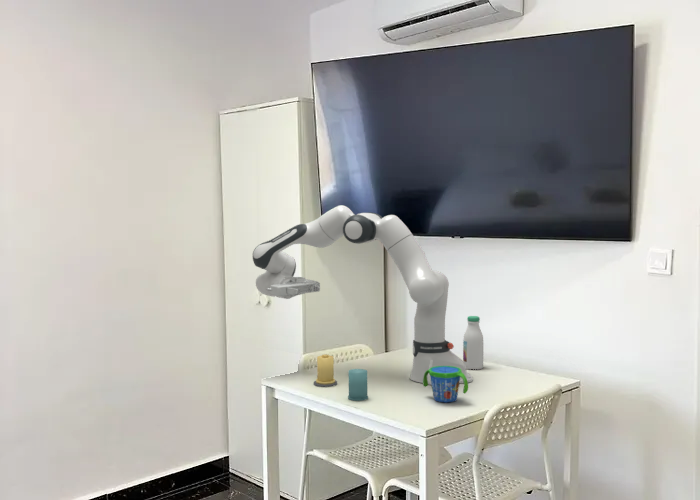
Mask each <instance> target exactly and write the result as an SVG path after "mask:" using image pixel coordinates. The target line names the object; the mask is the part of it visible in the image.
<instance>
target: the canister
mask: <svg viewBox="0 0 700 500" xmlns="http://www.w3.org/2000/svg"><path fill="white" fill-rule="evenodd" d="M347 398H348V400H349V401H355V402H360V401H361V402H363V401H367V400H368V399H369V395H368V370H367V369H364V368H353V369H349V370H348V396H347Z"/></svg>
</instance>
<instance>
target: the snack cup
mask: <svg viewBox="0 0 700 500" xmlns="http://www.w3.org/2000/svg"><path fill="white" fill-rule="evenodd" d="M428 373H429V374H430V377H431V384H432V385H431V389H432V396H433V399H434V401H436V402H439V403H452V402H456V401H457V399H458V396H459V395H458V394H459V387H460V383H459V381H460V377H461V378H462V379H463V382H464V383H463V391H462V394H466V393H467V392H468V390H469V384H468V383H469V382H467V379H466V376H465V375H464V374H463V373H462V372H461V369H460V368H458V367H454V366H435V367H431V368H430V369H429V370H427V371H426V372H425V374H424V378H423V383H422V384H423V387H428V386H429V384H428V381H427V375H428Z"/></svg>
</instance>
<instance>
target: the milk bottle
mask: <svg viewBox="0 0 700 500" xmlns="http://www.w3.org/2000/svg"><path fill="white" fill-rule="evenodd" d="M480 319H481V318H480V317H479V316H478V315H469V316H467V319H466V320H467V327H466V329H465V332H464V334H463V339H462V341H463V342H462V343H463V345H462V346H463V347H462V351H463V352H462V355H463V356H462V361H463V362H464V364H465V367H466V370H471V369H473V371H477V370H482V369H483V368H484V335H483V333H482V331H481V327H480V321H481V320H480ZM474 369H475V370H474ZM476 369H477V370H476Z"/></svg>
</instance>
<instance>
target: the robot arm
mask: <svg viewBox="0 0 700 500" xmlns="http://www.w3.org/2000/svg"><path fill="white" fill-rule="evenodd" d="M343 236H344V238H345V239H346V240H347V241H349V242H350V243H353V244H357V245H359V244H363V243H365V244H366V243H367V244H368V243H370V242H374V241H376V240H377V241H379V242H380V243H381V244H382V245H383V247H384V248H385V250H386V251H387V253H388V255H389V256H390V258H391V259H392V261H393V262H394V264H395V265H396V266H397V268H398V270H399V272H400V274H401V276H402V278H403V280H404V282H405V283H404V284H405V285H406V287H407V289H408V294H409V297H410V298H411V299H412V301H413V302H415V303H416V311H415V313H414V314H415V315H414V318H413V319H414V321H413V324H414V325H413V328H414V331H413V334H414V335H413V336H414V337H413V338H414V339H413V340H412V355H413V359H412V360H413V362H412V367H411V372H410V376H409V379H410V380H411V381H413V382H417V383H422V384H423V378H424V374H425V372H426V371H427V370H429V369H430V368H431V367H435V366H454V367H458V368H460V369H461V372H462V373H463V374H464V375H465V376H466V379H467V382H468V383H471V382H473V376H472V374H471V373H469V372H467V369H466V367H465V364H464V362H463V359H461V358H460V357H459V356H458V355H457V354H455V353H454V352H452V351H451V350H452V349H453V350H454V347H455V346H454V344H453V343H452V342H450V341H448V340H446V315H447V314H446V312H447V307H448V306H447V305H448V298H449V297H448V294H449V284H450V283H449V279H448V278H447V276H446V274H444V273H442V272H441V271H438V270H432V268H431V265H430V263H429V261H428V259H427V257H426V253H425V251H424V249H423V248H422V247H421V245H420V243H419V242H418V241H417V239H416V238H415V236H414V234H413V233H412V232H411V230H410V229H409V227H408V226H407V225H406V224H405V223H404V222H403V221H402V219H400V217H398V216H397V215H395V214H388V215H385V216H383V217H382V215H380V214H379V213H376V212H369V211H368V212H361V213H360V212H359V213H357V214H355V213H354V212H353V211H352V210H351V209H350V208H349V207H348V206H346V205H337V206H335V207H333V208H332V209H329V210H327V211H326V212H325V213H323V214H322V215H320V216H319V217H318V218H316V219H314V220H312V221H309V222H305V223H299V224H297V225H294V226H292V227H291V228H289V229H287V230H285V231H283V232H282V233H280V234H278V235H277V236H275V237H274V238H270V239H269V240H267V241H264V242H262V243H260V244H258V245H257V246H255V248H254V249H253V251H252V261H253V264H254V266H255V267H258V268H259V269H261V270H264V272H263V273H261V274H259V275H258V276H257V277H256V279H255V286H256V289H257V290H258V292H259V293H260V294H262V295H265V296H267V297H273V298H275V297H276V298H280V299H285V300H289V299H292V298H294V297H297V296H301V295H303V294H304V295H305V294H308V293H318V292H320V291H321V283H320V282H319V281H317V280H314V279H313V280H312V279H306V277H304V276H295V273H296V269H297V264H296V260H295V257H293V256H291V255H290V254H287V253H286V252H283V250H286V249H287V248H289V247H291V246H293V245H299V244H300V245H307V246H310V247H311V246H312V247H313V248H319V249H320V248H321V249H322V248H326V247H329V246H330V245H331V246H332V245H333V244H334V243H336V242H337V241H338V240H339V239H340V238H342V237H343ZM427 381H428V385H431V386H432V384H431V377H430V374H429V373H428V375H427ZM459 384H464V382H463V379H462V378H461V377H460V381H459Z"/></svg>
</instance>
